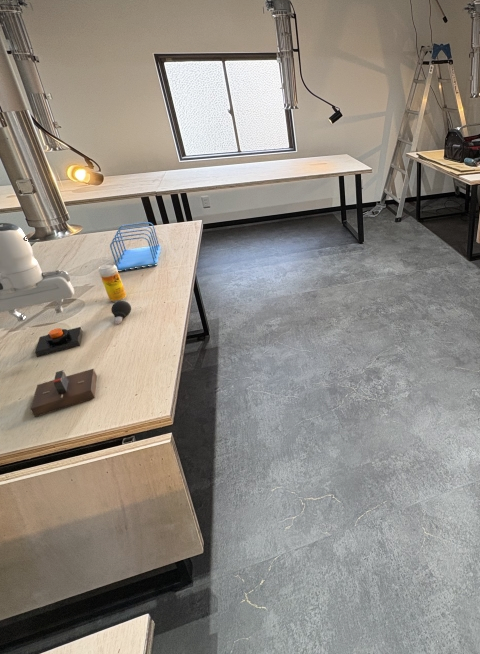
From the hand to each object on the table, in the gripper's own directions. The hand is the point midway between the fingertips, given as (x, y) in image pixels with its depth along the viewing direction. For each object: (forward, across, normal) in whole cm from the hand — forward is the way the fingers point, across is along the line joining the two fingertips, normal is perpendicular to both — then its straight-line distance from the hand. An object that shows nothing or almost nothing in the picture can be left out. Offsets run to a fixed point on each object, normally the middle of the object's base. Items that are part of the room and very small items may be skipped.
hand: (41, 316), depth 127 cm
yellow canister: (+17, -15, -37) cm, 43 cm away
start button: (+13, +1, -10) cm, 17 cm away
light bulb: (+17, -18, -19) cm, 31 cm away
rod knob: (+14, -4, +21) cm, 26 cm away
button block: (+17, +1, -10) cm, 20 cm away
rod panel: (+17, -4, +21) cm, 28 cm away
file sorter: (+17, -24, -77) cm, 82 cm away
